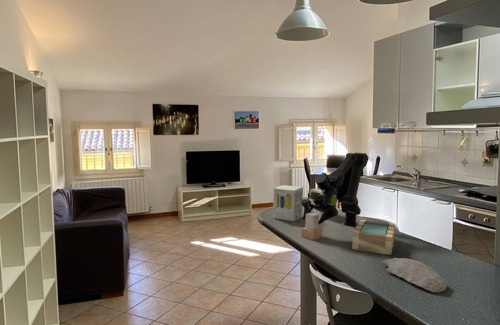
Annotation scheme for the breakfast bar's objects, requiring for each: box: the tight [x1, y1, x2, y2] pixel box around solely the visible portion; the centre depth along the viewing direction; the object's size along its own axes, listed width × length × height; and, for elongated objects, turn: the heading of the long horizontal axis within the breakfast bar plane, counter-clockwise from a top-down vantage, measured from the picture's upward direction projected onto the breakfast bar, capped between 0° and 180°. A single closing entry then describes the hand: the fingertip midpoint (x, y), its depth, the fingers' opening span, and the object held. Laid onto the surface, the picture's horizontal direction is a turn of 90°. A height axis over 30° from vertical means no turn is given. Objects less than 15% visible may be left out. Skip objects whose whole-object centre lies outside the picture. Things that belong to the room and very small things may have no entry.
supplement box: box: [272, 184, 304, 222], centre depth 203 cm, size 13×13×18 cm
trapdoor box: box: [351, 219, 396, 256], centre depth 160 cm, size 23×16×7 cm
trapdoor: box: [361, 219, 389, 235], centre depth 159 cm, size 18×10×3 cm, turn 155°
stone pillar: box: [304, 213, 320, 230], centre depth 168 cm, size 4×4×7 cm
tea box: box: [309, 187, 337, 219], centre depth 211 cm, size 15×10×15 cm
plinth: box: [300, 226, 323, 241], centre depth 169 cm, size 7×7×4 cm
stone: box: [382, 257, 448, 293], centre depth 125 cm, size 16×6×25 cm
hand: (310, 221), depth 168 cm, fingers open, 9 cm apart
